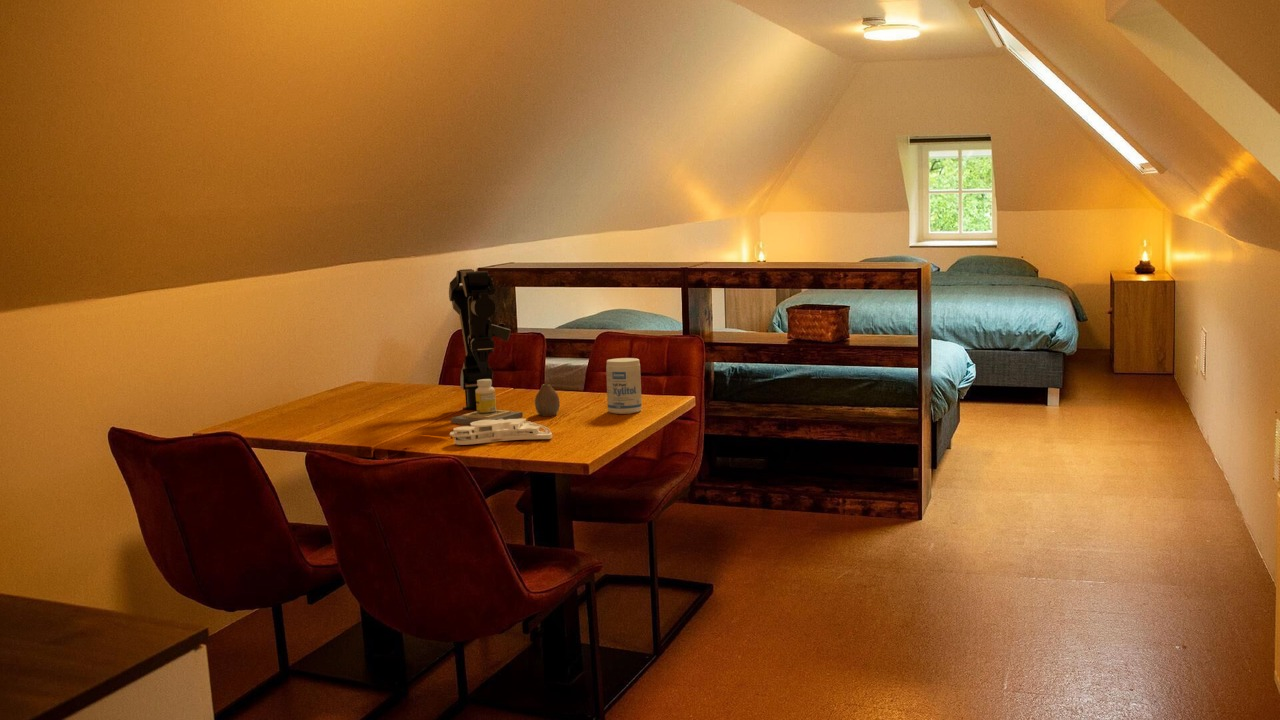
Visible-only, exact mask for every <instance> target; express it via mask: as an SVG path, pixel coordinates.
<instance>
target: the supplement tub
mask: <svg viewBox="0 0 1280 720" xmlns="http://www.w3.org/2000/svg"><path fill="white" fill-rule="evenodd" d="M605 368H606V369H605V373H606V374H605V375H606V395H607V396H606V398H607V399H606V400H607V401H606V404H607V411H608V412H609V413H611V414H615V415H616V414H617V415H619V414H620V415H629V414H630V415H631V414H633V413H634V414H635V413H639V412H640V411H641V410H642V408H643V407H642V380H641V374H642V373H641V363H640V359H639V358H636V357H620V358H619V357H618V358H611V359H610V358H609V359H606V367H605Z"/></svg>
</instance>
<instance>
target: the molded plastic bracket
mask: <svg viewBox="0 0 1280 720" xmlns="http://www.w3.org/2000/svg"><path fill="white" fill-rule="evenodd" d="M470 424H471V425H462V426H457V427H454V428H453V431H450V432H449V436H450V437H453V438H454V440H453V442H454V445H458V446H461V445H463V446H464V445H467V446H468V445H476V444H488V443H494V442H504V441H517V440H518V441H519V440H550V439H551V440H552V438H553V433H552V432H551V429H550V428H549V427H547V426H545V425H543V424H539V423H536V422H531V420H530V421H529V420H527V418H518V419H507V420H504V419H498V420H489V419H487V420H479V421H475V422H471V423H470ZM540 429H542V430H544V431H542V430H541V431H540Z"/></svg>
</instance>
